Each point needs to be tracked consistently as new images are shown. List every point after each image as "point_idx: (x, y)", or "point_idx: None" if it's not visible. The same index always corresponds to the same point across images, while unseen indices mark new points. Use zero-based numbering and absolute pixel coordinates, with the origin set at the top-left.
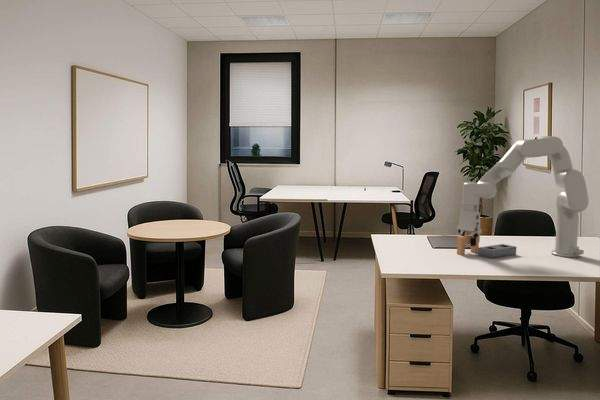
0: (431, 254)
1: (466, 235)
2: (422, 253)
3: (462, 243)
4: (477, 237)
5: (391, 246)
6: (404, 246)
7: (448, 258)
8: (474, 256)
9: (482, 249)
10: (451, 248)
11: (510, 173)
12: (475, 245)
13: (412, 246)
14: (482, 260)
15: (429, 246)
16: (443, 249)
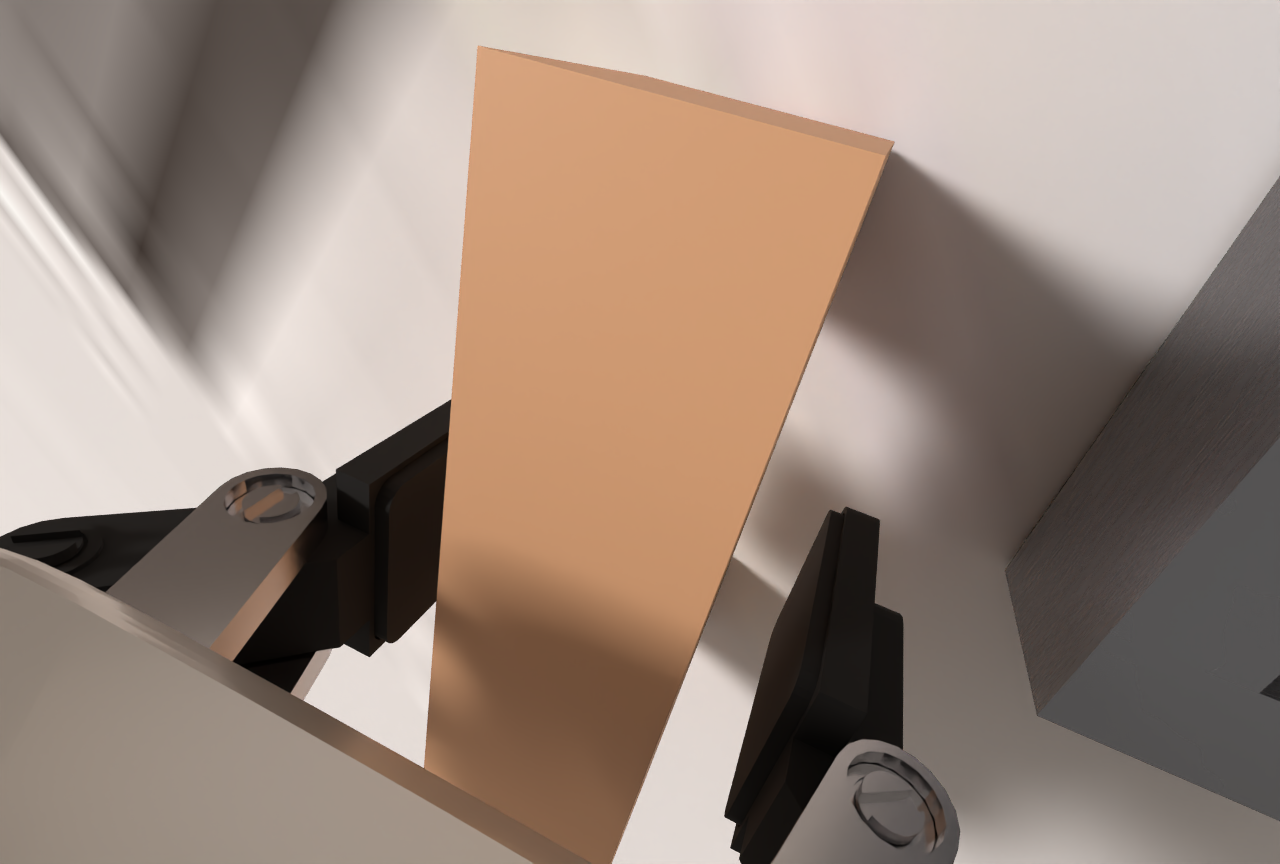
0: (425, 716)
1: (451, 649)
2: (346, 704)
3: (636, 800)
4: (814, 343)
5: (9, 529)
6: (25, 459)
7: (669, 846)
8: (940, 609)
9: (1185, 754)
10: (284, 143)
11: None
12: (875, 524)
13: (36, 406)
14: (1191, 857)
15: (70, 255)
16: (289, 338)
